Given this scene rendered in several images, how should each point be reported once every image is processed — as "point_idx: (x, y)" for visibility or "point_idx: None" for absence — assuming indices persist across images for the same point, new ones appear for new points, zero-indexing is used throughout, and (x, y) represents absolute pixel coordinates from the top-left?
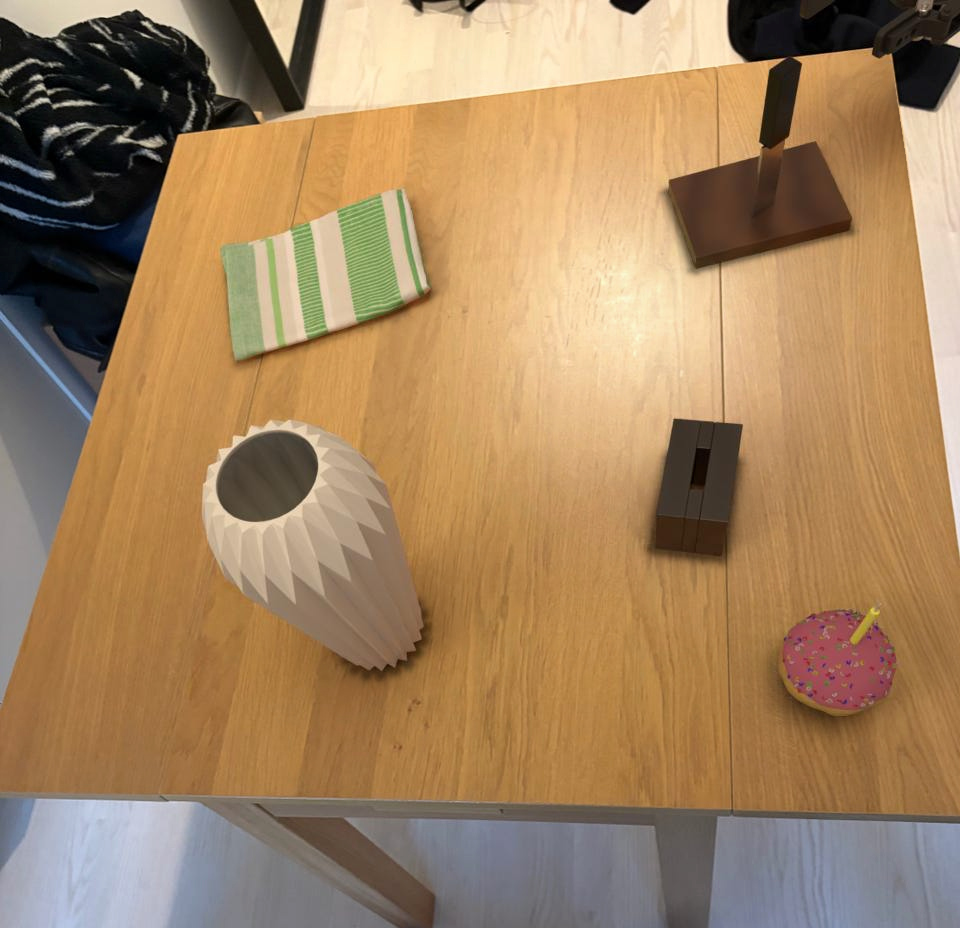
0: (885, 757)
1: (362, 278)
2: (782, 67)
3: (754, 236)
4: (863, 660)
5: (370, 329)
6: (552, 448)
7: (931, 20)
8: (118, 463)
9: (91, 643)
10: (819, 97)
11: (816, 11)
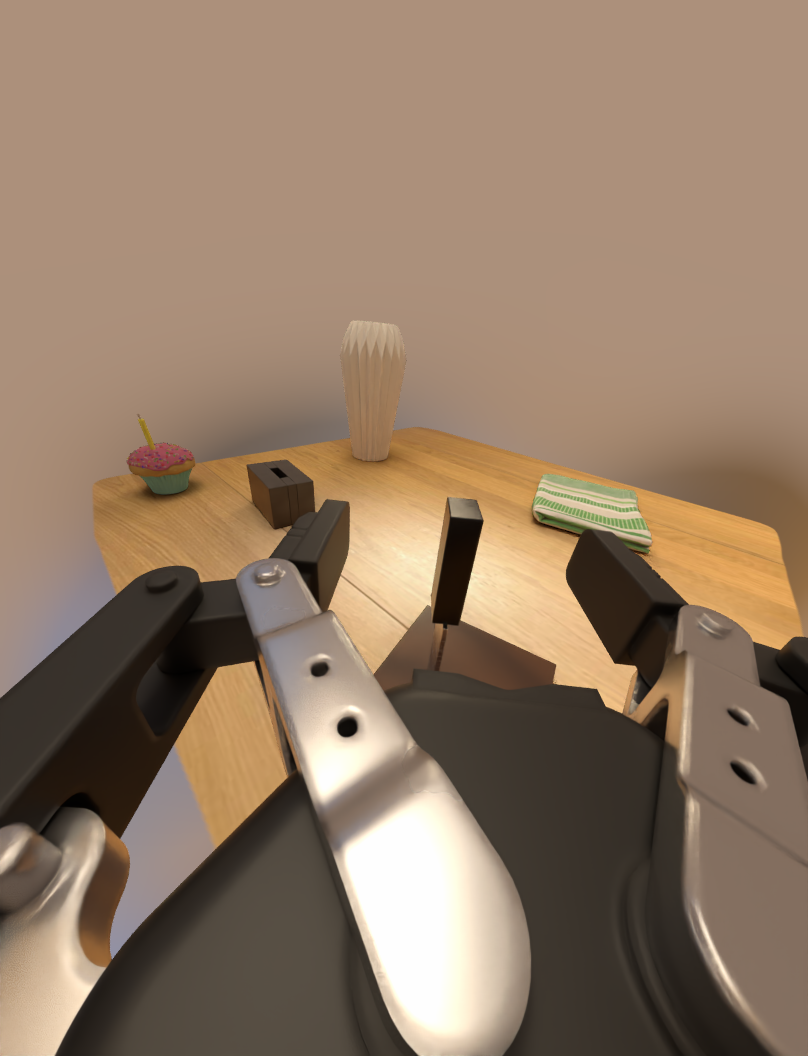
0: (129, 482)
1: (568, 508)
2: (465, 505)
3: (402, 653)
4: (146, 446)
5: (528, 505)
6: (380, 502)
7: (224, 582)
8: (513, 456)
9: (443, 438)
10: None
11: (580, 597)
